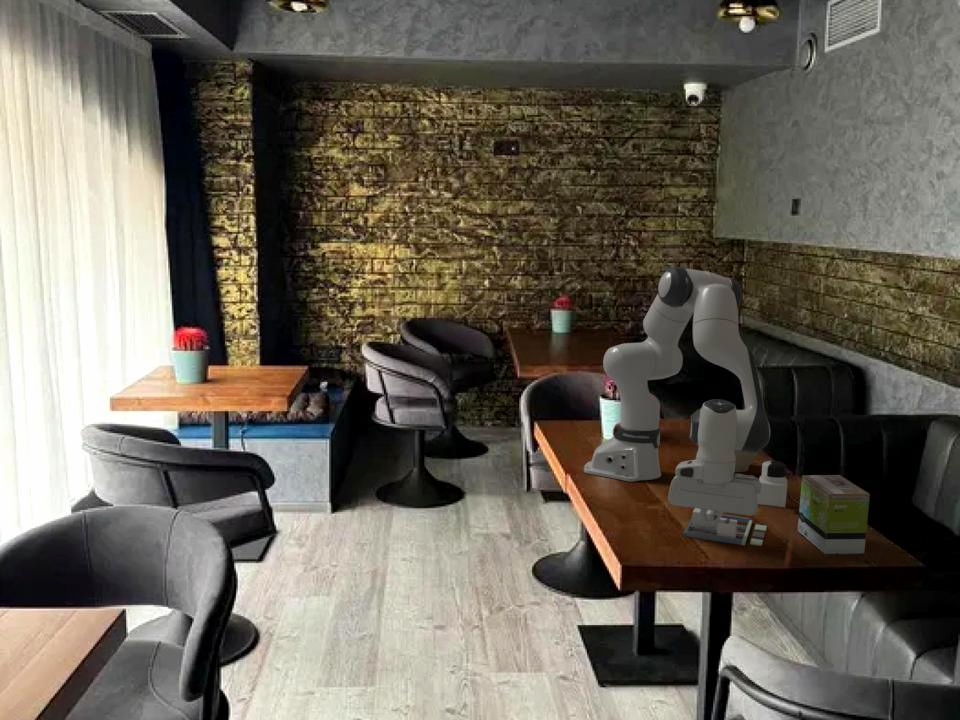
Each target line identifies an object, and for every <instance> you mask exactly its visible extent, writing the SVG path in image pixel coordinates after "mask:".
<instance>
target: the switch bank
mask: <svg viewBox="0 0 960 720" xmlns="http://www.w3.org/2000/svg"><path fill="white" fill-rule="evenodd" d="M692 517H693V515H692V516H691V517H690V519H689V521H688V522H687V525H686V527H685V529H684V530H683V532H682V536H683V537H688V538H694V539H700V540H701V539H702V540H708V541H715V542H719V543H720V542H722V543H727V544H735V545H740V546H745V545H746V543H747V540H748V537H749V535H750V530H751V528H752V524H753V520H752V519H750V517H745V516H744V517H742V516H739V515H738V516H737V515H730V514H724V513H723V516H722V517H721V518H726V519H733V520H737V523H742V524H743V523H745V524H747V525H746V526H745V525H741V524H737V530H743V531H745V532H739V531H736V538H731V537H725V536H718V535H717V529H711V528H705V527H698V526H692ZM717 517H718V516H717V515H716V512H715V513H714V520H715V519H716V518H717ZM767 528H768V525H763V524H755V526H754V529H753V533H752V535H751V536H752V537H751V539H750V542H749V545H752V546H759V547H762V546H763V542H764V540H763V539H765V534H766V533H765V532H766V531H767ZM691 530H693V531H691ZM697 531H699V532H697ZM700 531H701V532H700ZM704 532H707V533H704ZM710 533H712V534H710ZM713 533H714V534H713ZM738 537H740V538H738Z"/></svg>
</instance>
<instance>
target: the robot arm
mask: <svg viewBox="0 0 960 720" xmlns="http://www.w3.org/2000/svg"><path fill="white" fill-rule="evenodd" d="M741 287H742V286H741V284H740V283H739V282H738V281H737V280H734V279H733V278H731V277H729V276H722V275H720V274H717V273H713V272H710V271H706V270H698V269H693V268H685V267H683V266H670V267H668V268H667V269H666V270H665V271H664V272H662V274H661V276H660V278H659V282H658V284H657V294H656V296H655V297H654V299H653V301H652V303H651V304H650V307H649V309H648V311H647V313H646V314H645V317H643V318H644V319H643V322H642V326H643V330H644V333H645V334H646V336H647V338H645V340H644V341H641V342H627V343H626V342H625V343H621V344H618V345H614V346H611V347H609V348H608V349H607V350H606V352H605V353H604V356H603V360H602V364H603V365H602V366H603V370H604V372H605V374H606V375H607V377H608V378H609V379H610V380H611V381H613V382H614V384H615V386H616V388H617V390H618V394H619V398H620V421H619V422H617V423H615V424H614V427H613V429H612V437H611V438H609V439H607V440H606V441H605V442H603V443H602V444H600V445H598V446H597V447H596V449H594V452H593V455H592V458H591V460H590V461H588V462H587V463H585V464H584V466H583V472H584V473H585V474H590V475H595V476H598V477H599V476H600V477H603V478H605V477H606V478H610V479H616V480H621V481H625V482H639V481H648V480H649V481H651V480H656V479H659V478H661V476H662V472H661V469H660V461H659V460H660V459H659V447H660V442H661V441H660V440H661V429H660V427H659V425H660V424H659V423H660V411H661V410H660V409H661V408H660V407H661V404H660V400H659V399H658V398H657V397H656V396H655V395H654V394H652V393H650V389H649V385H648V381H652V380H663V379H666V378H669V377H673V376H675V375H677V374H678V373H679V372H680V371H681V369H682V367H683V362H684V361H683V360H684V357H683V353H682V351H681V349H680V348H679V340H680V338H681V336H682V334H683V332H684V330H685V328H686V327H687V325H688V324H689V321H690V320H691V318H692V317H693V318H692V343H693V347H694V348H695V351H696V352H697V353H698V354H699V355H700V357H702V358H703V359H704V360H706V361H708V362H709V363H712V364H714V365H717V366H719V367H722V368H724V369H726V370H728V371H729V372H731V373H733V374H734V375H735V376H736V377H738V379H739V380H740V384H741V390H742V391H741V392H742V396H743V401H744V406H745V407H744V409H737V407H736V405H735V404H734V403H733V402H731V401H728V400H726V399H719V398H718V399H717V398H716V399H714V398H713V399H709V400H707V401H704V402H703V404H702V406H701V408H698V409H697V410H696V411H694V413H692V414H691V415H690V421H691V423H690V432H689V436H688V437H689V440H690V441H691V442H692V443H693V444H694V445H696V446H697V447H698V449H697V452H696V455H695V459H691V460H685V461H680V463H678V464H677V466H676V467H675V470H674V471H675V476H674V477H673V479H672V480H671V483H670V486H669V490H668V498H667V499H668V502H669V504H670V505H672V506H678V507H684V508H685V507H686V508H693V509H695V508H698V509H701V510H700V514H701V515H702V517H703V519H704V521H705V523H704V527H705V528H711V529H717V524H718V521H719V520H720V518H721V517H722V516H723V514H724V513H727V514H728V513H729V514H734V515H735V514H736V515H741V516H742V515H743V516H749V517H754V516H755V515H756V514H757V513H758V510H759V504H758V494H759V493H760V489H761V483H760V481H759V478H758V477H756V476H755V475H753V474H749V475H748V474H744V473H740V472H735V460H736V458H735V453H734V450H741V451H745V452H751V453H756V452H758V451H759V452H760V451H761V450H763V449H764V448H766V447H767V445H769V442H770V438H771V427H770V423H769V422H770V421H769V420H768V416H767V412H766V409H765V404H764V399H763V394H762V387H761V383H760V377H759V371H758V367H757V362H756V358H755V356H754V353H753V351H752V348H750V347H749V346H747V345H746V344H745V343H744V342H743V340H742V338H741V336H740V332H739V312H738V309H739V307H740V305H741V302H742V296H743V293H742V288H741ZM692 315H693V316H692ZM759 452H758V453H759ZM708 510H712V511H715V513H716V515H717V516H718V517H717V518H716V519H715V518H714V520H712V519H708V517H707V514H706V513H707V511H708Z"/></svg>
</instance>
